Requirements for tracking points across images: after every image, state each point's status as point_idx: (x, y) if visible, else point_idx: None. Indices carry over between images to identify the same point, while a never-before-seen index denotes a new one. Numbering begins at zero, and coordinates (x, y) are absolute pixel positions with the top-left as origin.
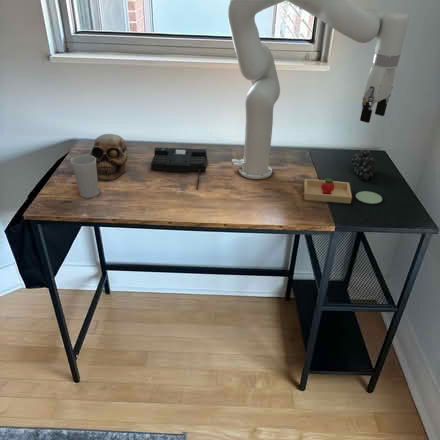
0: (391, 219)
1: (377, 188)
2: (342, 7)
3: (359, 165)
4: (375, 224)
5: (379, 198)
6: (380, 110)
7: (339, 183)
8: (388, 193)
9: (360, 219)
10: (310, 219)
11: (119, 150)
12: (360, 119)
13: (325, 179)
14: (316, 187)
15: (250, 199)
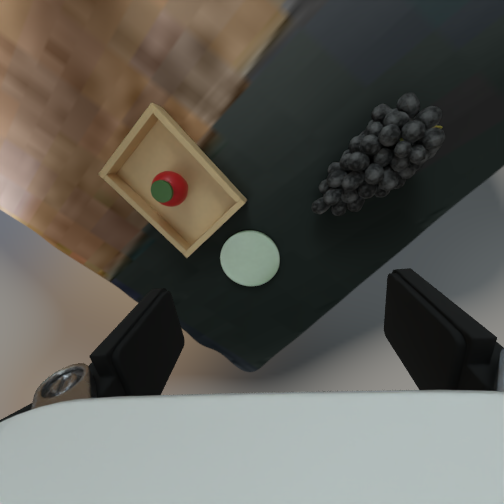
0: (217, 327)
1: (314, 241)
2: None
3: (342, 166)
4: None
5: (263, 277)
6: (403, 332)
7: (222, 187)
8: (310, 270)
9: None
10: (79, 238)
11: None
12: (152, 292)
13: (153, 183)
14: (178, 144)
15: None
